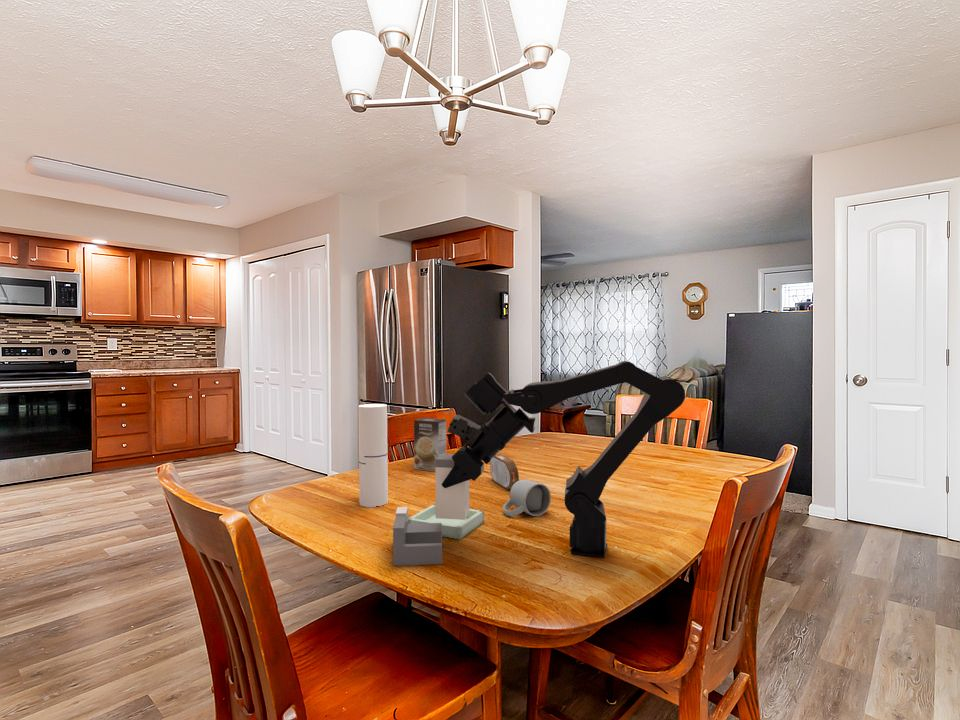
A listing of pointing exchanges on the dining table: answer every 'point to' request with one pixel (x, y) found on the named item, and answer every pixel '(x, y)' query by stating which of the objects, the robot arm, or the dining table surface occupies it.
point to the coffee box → (428, 442)
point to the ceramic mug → (528, 498)
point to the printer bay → (416, 541)
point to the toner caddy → (450, 492)
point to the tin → (504, 471)
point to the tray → (450, 522)
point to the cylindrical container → (373, 455)
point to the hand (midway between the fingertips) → (446, 482)
